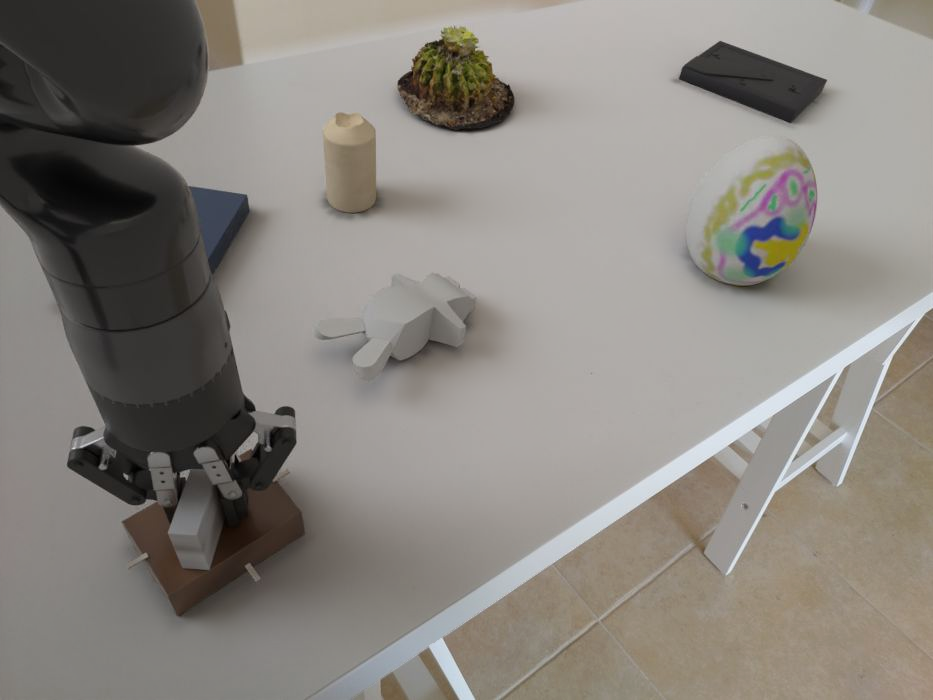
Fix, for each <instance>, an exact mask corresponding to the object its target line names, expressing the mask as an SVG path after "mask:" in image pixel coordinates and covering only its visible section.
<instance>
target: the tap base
mask: <svg viewBox="0 0 933 700" xmlns="http://www.w3.org/2000/svg"><path fill="white" fill-rule="evenodd" d="M252 451H253V449H252V448H250V449H248V450H246V451H245V452H243V453H241V454H238V455H239V457H240V459H241V461H244V460H247V459H250V454H251V452H252ZM289 474H291V471H290V470H289V468H286V469H285V470H283V471H281V472H278V473H277V475H276V476H275V478H274V479H273V481H272V482H271V484H270V486H269V487H268V488H267V489H266V490H263V491H254V490H252V489H251V488H249V489H247V493H248V515H247V517H246V518H242V519H240V526H233V527H229V526H228V522H227V519H226V517H225V520H224V524H223V527H222V530H221V533H220V537H219V540H218V543H217V547H216V550H215V553H214V557H213V560H212V563H211V567H210V569H209V570H201V569H188V568H182V566H181V563H180V561H179V559H178V556H177V554H176V551H175V549H174V547H173V544H172V542H171V540H170V537H169V535H168V531H169V528H170V525H171V524H170V523H169V521H168V518H167V515H166V514H165V511H164V509H163V507H162V506H160V505H159V504H158V502H157V501H155V502H154V503H152V504H150V505H148V506H146V507H145V508H143V509H141V510H139V511H138V512H136V513H134V514H132V515H130V516H129V517H127V518H125V519H123V520H122V521H121V525H122V527H123V528H124V531H125V532H126V535H127V537H128V539H129V540H130V543H131V544H132V546H133V548H134V549H135V551H136V553H137V554H138V557H136V558H134V559H133V560H131V561H129V562H128V563H126V564H125V566H126V568H127V570H130V569H132V568H134V567H135V566H137V565H139V564H140V563H143V564H144V566H145V567H146V569H147V570H148V572H149V573H150V575H151V577H152V578H153V581H154V582H155V583H156V585H157V587H158V588H159V590H160V591H161V593H162V595H163V596H164V598H165V600H166V601H167V603H168V604H169V606H170V608H171V609H172V611H173V613H174V614H175V616H176V617H179V616H180V615H182V614H183V613H185V612H187V611H188V610H190V609H191V608H192V607H194V606H196V605H197V604H199V603H200V602H202V601H204V600H205V599H206V598H208V597H209V596H212V594H214V593H216V592H217V591H219V590H220V589H222V588H223V587H225V586H226V585H228V584H230V583H231V582H232V581H234V580H236V579H237V578H239V577H241V576H242V575H243V574H245V573H247V572H248V573H249V575H250V576H251V578H252V579H253V580H254V582H255V583H257V582H258V581H260V580H261V577H260V575H259V574H258V573H257V571H256V569H255V568H254V567H256V566H257V565H259V564H260V563H262V562H263V561H265V560H266V559H268V558H269V557H271V556H272V555H274V554H276V553H277V552H279V551H280V550H282V549H283V548H285V547H287V546H288V545H289V544H291V543H293V542H294V541H296V540H298V539H299V538H300V537H303V535H305V534H306V532H305V525H304V518H303V512H302V511H301V509H300V508H299V506H298V505H297V504H296V503H295V502H294V500H293V499H292V498H291V497H290V495H289V494H288V493H287V492H286V491H285V489H284V488H283V486H282V485H281V484H280V483H279V482H278V481H279V480H281V479H282V478H284V477H286V476H288V475H289Z"/></svg>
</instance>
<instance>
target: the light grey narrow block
mask: <svg viewBox="0 0 933 700" xmlns="http://www.w3.org/2000/svg"><path fill="white" fill-rule="evenodd" d="M225 517H226V516H225V512H224V509H223V506H222V503H221V491H220V490H219V488H218V486H217V485H213V484H212V483H211V481H210V479H209V477H208V475H207V474H206V472H205V470H204V469H189V473H188V475H187V478H186V483H185V486H184V489H183V492H182V495H181V497H180V500H179V503H178V506H177V509H176V511H175V514H174V517H173V520H172V523H171V525H170V528H169V531H168V535H169V537H170V540H171V542H172V544H173V547H174V549H175V551H176V554H177V556H178V559H179V561H180V563H181V566H182V568H188V569H201V570H209V569H210V567H211V563H212V560H213V557H214V553H215V550H216V547H217V543H218V540H219V537H220V533H221V530H222V527H223V524H224V520H225Z"/></svg>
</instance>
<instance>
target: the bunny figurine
mask: <svg viewBox="0 0 933 700" xmlns="http://www.w3.org/2000/svg"><path fill="white" fill-rule="evenodd" d="M476 302H477V296H476V295H475V294H474V293H473V292H471V291H470V290H468V289H467V288H466V287H461V284H460V283H459V282H457V280H455V279H454V278H452V277H451V276H450V275H449V276H446V277H444V276H443V275H441V274H440V273H435V272H430V273H429V274H427V275H426V276H425V278H424V279H423V281H422V282H420V281H417V280H415V279H413V278H410V277H408V276H406V275H404V274H401V273H395V274H391V281H390V285H389V286H387V287H384V288H381V289H379V290H377V291H376V292H374V293H373V294H371V295H370V296H369V298H368V300H367V302H366V304H365V306H364V308H363V310H362V311H361V315H360V316H359V317H339V318H325V319H321V320H319V322H318V323H317V324H316V326H315V328H314V330H313V332H312V333H313V336H314V337H315V338H317V339H318V340H321V341H328V340H335V339H339V338H344V337H348V336H352V335H357V334H363V336H365V337H366V338H367V340H368V341H367V342H366V343H365V344H364V345H362V347H361V348H360V349H359V350H357V352H355V353H354V355H353V356H352V359H351V361H352V365H353V368H354V371H355V375H357V377H358V378H359V379H362V380H364V381H374V380H376V379H377V378H379V376H380V375H381V373H382V371H383V369H384V367H385V366H386V364H387V362H388V360H389V358H390V357H392V358H394V359H396V360H397V361H400V362H401V361H404V360H407V359H409V358H411V357H412V356H414V355H416V354H418V353H419V352H420V351H421V350H422V349H423V348H424V347H425V345H426V344H427V343H428V342H429V340H430V341H434V342H438V343H442V344H444V345H449V346H452V347H456V348H458V347H459V346H460V345H462V344H463V343H464V340H465V335H466V330H467V325H466V324H465V323H464V321H465V320H466V318H467V317H468V315H469V313H470V312H472V311H473V310H475V306H476Z"/></svg>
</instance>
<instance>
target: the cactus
mask: <svg viewBox="0 0 933 700" xmlns="http://www.w3.org/2000/svg"><path fill="white" fill-rule="evenodd" d="M440 33H441V34H440V37H441V38H439V39H438V40H436V39H435V40H433V41H430V42H428V41H426V43H424V45H423V46H421V48H419V49H418V51H417V54H416V52H415V54H414V57H413V58H411V61H412V64H413V65H411V68H410V71H407V72H406V73H405V74H403V75H402V76H401V77H400V78H399V79H398V80H397V85H396V86H397V90H398V93H399V95H400V97H401V99H402V101H403V104H404V105H407V108H408V110H409V111H410V113H411V114H412V115H413V116H416V117H419V118H421V119H422V120H423V121H425V122H429V123H432V124H435V125H436V126H444V127H446V128H447V129H450V130H454V131H455V130H456V131H459V130H460V129H469V130H472V129H474V130H475V129H483V128H486V127H488V126H491V125H494V124H497V123H500V122H503V121H504V120H505V118H507V117H508V116H509V115H510V113H511V112H512V110H513V108H514V105H515V94H514V92H513V90H512V89H511V86H510V84H509V83H508V84H506V83H505V82H503V81H501V80H500V79H499V78H498V77H497V75H495V74H494V72H493V63H492V62H490V61H489V60H488V58H490V56H489V55H485V52H484V51H483V49H480V50H479V49H478V48H480V47H482V46H480V45H479V46H478V45H477V44H479V43H480V41H479V38H477V36H476V34H474V32H473V31H469V29H467V28H466V26H461V25H459V27H457V26H456V25H453V27H452V26H449V27H448V28H447V27H444V28H443V30H440ZM476 49H477V50H476Z"/></svg>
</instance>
